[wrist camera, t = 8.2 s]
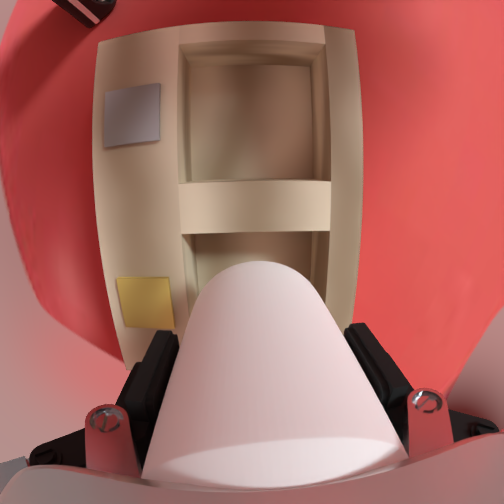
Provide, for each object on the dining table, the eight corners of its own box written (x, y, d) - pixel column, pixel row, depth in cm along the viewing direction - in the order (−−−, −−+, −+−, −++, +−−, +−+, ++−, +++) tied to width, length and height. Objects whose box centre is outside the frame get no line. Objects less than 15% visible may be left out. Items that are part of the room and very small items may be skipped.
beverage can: (321, 354, 15) (398, 559, 4) (209, 370, 15) (184, 585, 4) (314, 244, 14) (493, 464, 2) (182, 265, 14) (53, 513, 2)
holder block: (330, 58, 17) (356, 28, 11) (325, 328, 22) (345, 369, 17) (128, 66, 16) (96, 40, 11) (146, 332, 22) (125, 372, 17)
